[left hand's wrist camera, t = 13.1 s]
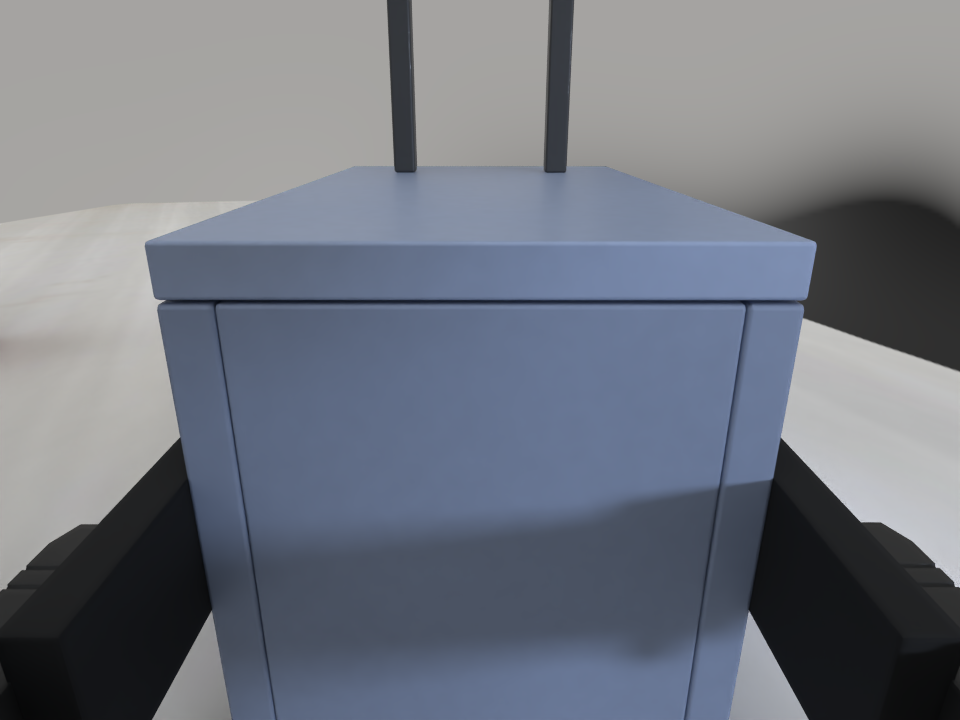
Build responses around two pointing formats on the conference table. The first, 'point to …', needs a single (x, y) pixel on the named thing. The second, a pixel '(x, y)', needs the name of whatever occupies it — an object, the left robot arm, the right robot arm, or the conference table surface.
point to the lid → (480, 226)
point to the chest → (480, 500)
